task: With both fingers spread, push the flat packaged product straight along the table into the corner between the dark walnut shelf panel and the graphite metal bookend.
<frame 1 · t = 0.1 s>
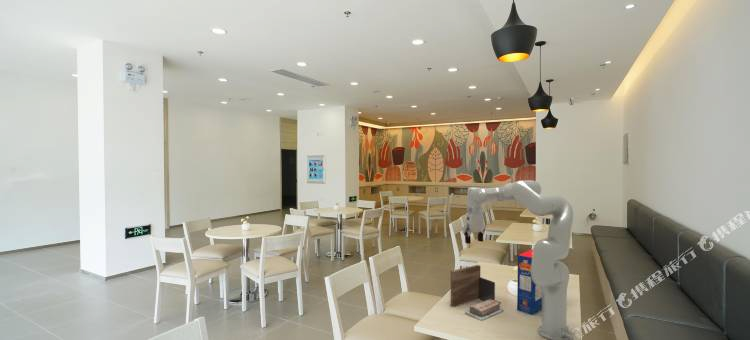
hand: (474, 242, 191), 31 cm above the table, tool pointing down, fingers open, 9 cm apart
bookend: (486, 302, 189), on the table
pasta box: (537, 305, 186), on the table
shelf panel: (465, 302, 189), on the table
packaged product: (484, 313, 176), on the table
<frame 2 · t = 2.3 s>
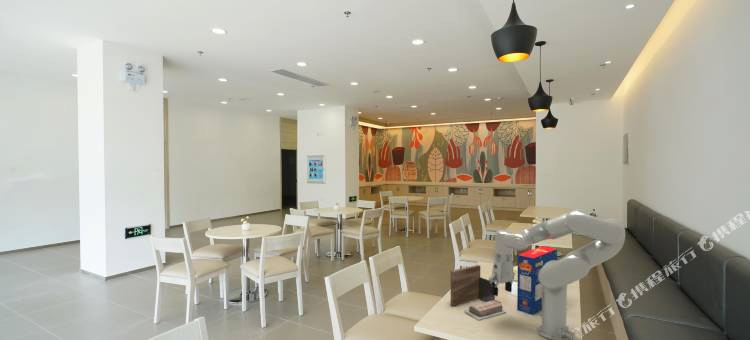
hand: (501, 293, 167), 13 cm above the table, tool pointing down, fingers open, 9 cm apart
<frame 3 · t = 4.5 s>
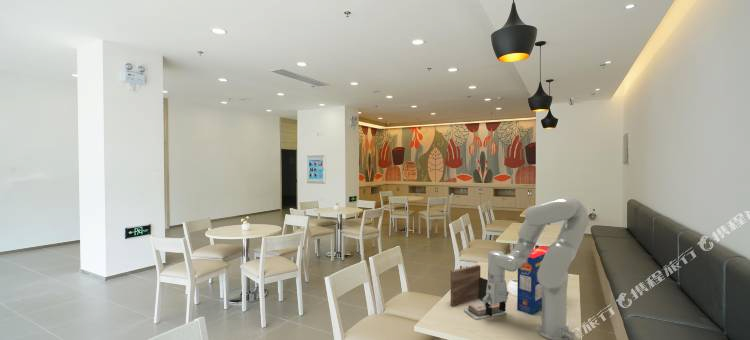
hand: (495, 312, 170), 2 cm above the table, tool pointing down, fingers open, 9 cm apart
packaged product: (484, 314, 176), on the table, touching gripper
everything else where it was.
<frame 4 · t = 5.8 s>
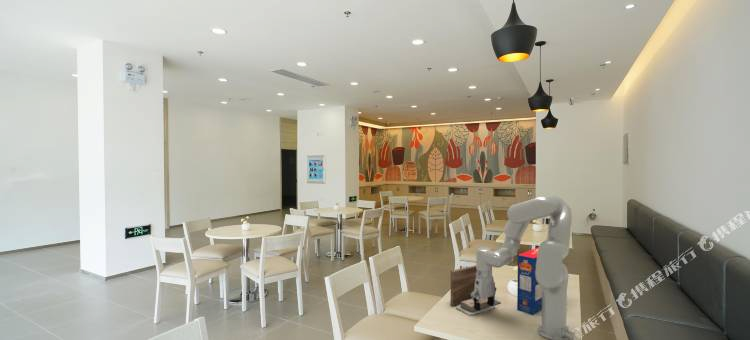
hand: (483, 307, 176), 2 cm above the table, tool pointing down
packaged product: (475, 309, 181), on the table, touching gripper
everything else where it was.
when the fingers open (2 cm above the table, at t = 5.8 s): packaged product moves 2 cm, on the table.
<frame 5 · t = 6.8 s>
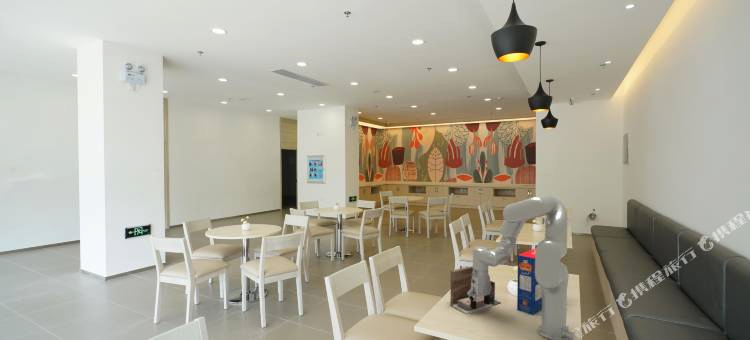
hand: (480, 306, 178), 2 cm above the table, tool pointing down, fingers open, 9 cm apart
packaged product: (471, 308, 183), on the table
everything else where it was.
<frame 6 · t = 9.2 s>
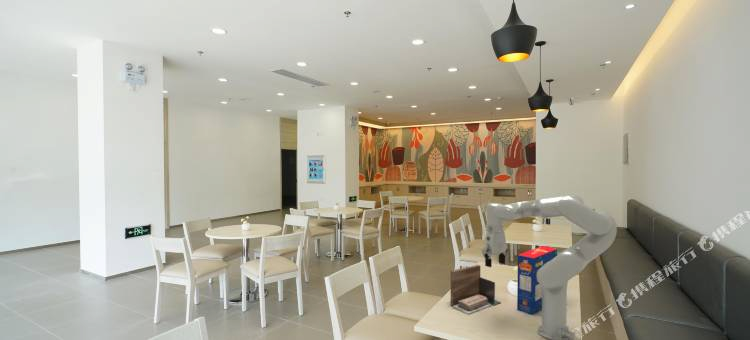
hand: (495, 264, 170), 25 cm above the table, tool pointing down, fingers open, 9 cm apart
nothing on the table moved.
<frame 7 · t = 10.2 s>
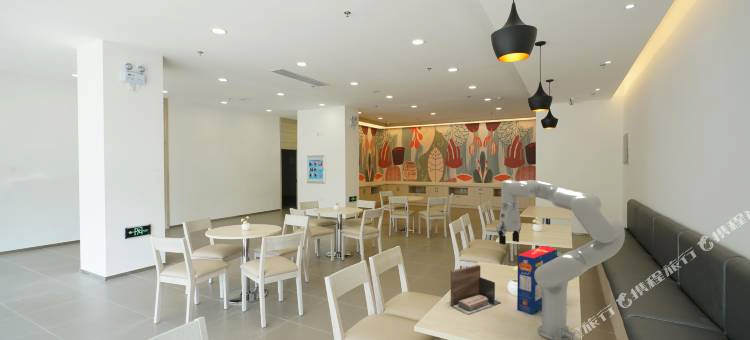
hand: (509, 242, 168), 36 cm above the table, tool pointing down, fingers open, 9 cm apart
nothing on the table moved.
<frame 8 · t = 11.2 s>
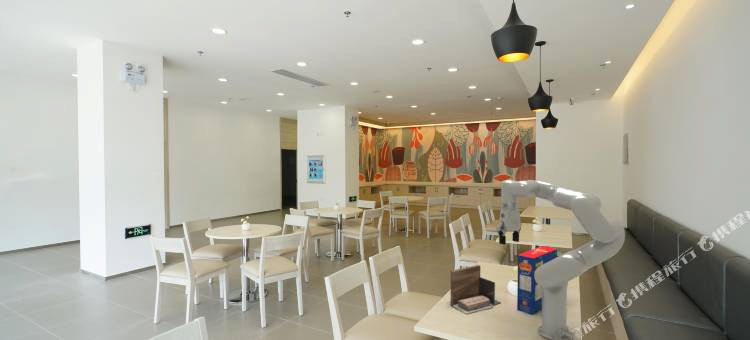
hand: (509, 242, 168), 36 cm above the table, tool pointing down, fingers open, 9 cm apart
at the end: packaged product inside the target area (0.9 cm from its centre), on the table; packaged product tilted 0° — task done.
